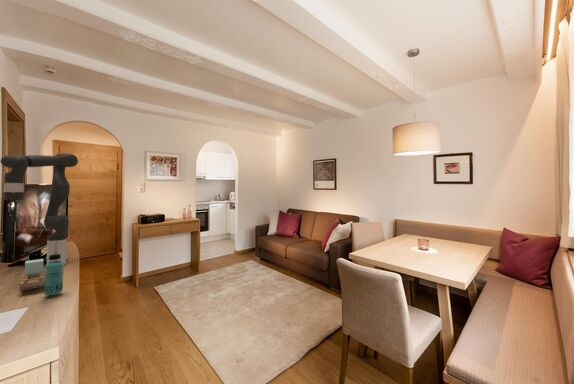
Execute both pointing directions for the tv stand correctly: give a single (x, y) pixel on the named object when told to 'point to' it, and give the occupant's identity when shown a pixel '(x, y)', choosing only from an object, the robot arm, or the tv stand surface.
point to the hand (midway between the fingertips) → (13, 222)
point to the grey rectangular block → (34, 267)
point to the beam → (32, 281)
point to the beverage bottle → (53, 276)
